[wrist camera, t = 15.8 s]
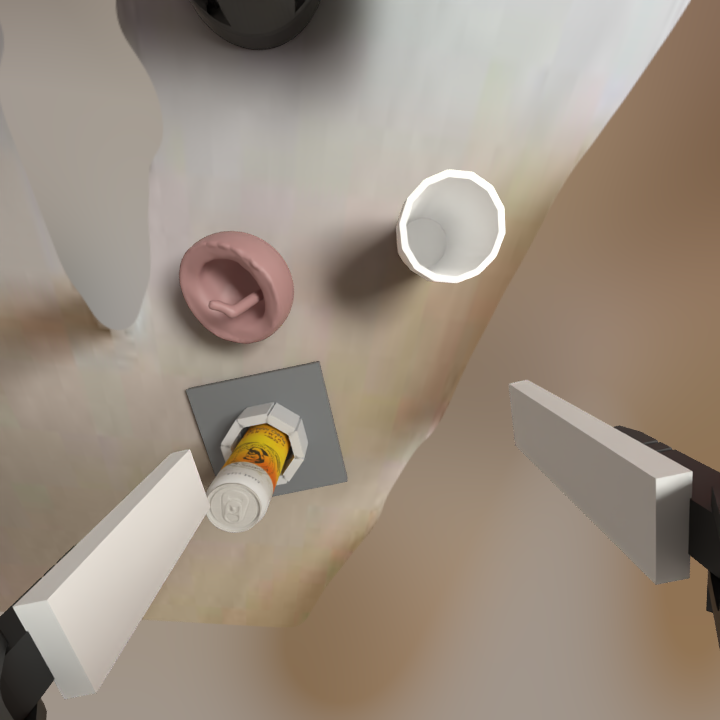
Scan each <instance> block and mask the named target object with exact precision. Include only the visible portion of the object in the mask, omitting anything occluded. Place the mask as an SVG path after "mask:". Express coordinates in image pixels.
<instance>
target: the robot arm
mask: <svg viewBox="0 0 720 720" xmlns="http://www.w3.org/2000/svg"><path fill="white" fill-rule="evenodd" d="M190 1H191V3H192V5H193V7H194V8H195V10H196V11H197V13H198V14H199V16H200V17H201V18H202V20H203V21H204V22H205V23H206V24H207V25H208V26H209V27H210V28H211V29H212V30H213V31H214V32H215V33H216V34H218V35H219V36H220V37H222V38H224V39H225V40H227V41H229V42H231V43H233V44H235V45H238V46H241V47H245V48H250V49H267V48H272V47H276V46H279V45H281V44H284V43H286V42H287V41H289V40H291V39H292V38H294V37H295V36H296V35H297V34H299V33H300V32H301V31H302V30H303V29H304V27H305V26H306V25H307V24H308V22H309V21H310V19H311V18H312V16H313V14H314V13H315V11H316V8H317V6H318V4H319V1H320V0H190ZM509 392H510V402H511V411H512V420H513V429H514V439H515V445H516V447H517V448H518V449H519V450H520V451H521V452H523V454H524V455H525V456H526V457H528V458H529V460H531V461H532V462H533V463H534V464H535V465H536V466H537V467H538V468H539V469H540V470H541V471H542V472H543V473H544V474H545V475H546V476H547V477H548V478H549V479H550V480H551V481H552V482H553V483H554V484H555V485H556V486H557V487H558V488H559V489H560V490H561V491H562V492H563V493H564V494H565V495H566V496H567V497H568V498H569V499H570V500H571V501H572V502H573V503H574V504H575V505H576V506H577V507H578V508H579V509H580V510H581V511H582V512H583V513H584V514H585V515H586V516H587V517H588V518H589V519H590V520H591V521H592V522H593V523H594V524H595V525H596V526H597V527H598V528H599V529H600V530H601V531H602V532H603V533H604V534H605V535H606V536H607V537H608V538H609V539H610V540H611V541H612V542H613V543H614V544H615V545H616V546H617V547H618V548H619V549H620V550H622V552H623V553H624V554H625V555H626V556H627V557H628V558H629V559H630V560H632V562H633V563H634V564H636V565H637V567H638V568H639V569H640V570H641V571H642V572H644V573H645V574H646V575H647V576H648V577H649V578H650V579H651V580H652V581H653V582H654V583H655V584H656V585H657V584H661V583H667V582H672V581H677V580H683V579H688V578H689V577H690V574H689V573H690V556H692V557H693V558H694V559H695V560H697V561H698V562H699V563H700V564H702V565H703V566H704V567H705V568H707V569H708V585H707V607H706V610H707V611H709V612H712V613H713V615H714V620H715V625H716V631H717V637H718V642H719V647H720V473H719V472H718V471H716V470H714V469H712V468H710V467H708V466H706V465H704V464H702V463H700V462H698V461H696V460H694V459H692V458H690V457H688V456H687V455H685V454H683V453H681V452H679V451H677V450H672V448H671V447H669V446H667V445H665V444H663V443H661V442H659V443H658V441H657V440H656V439H654V438H652V437H650V436H648V435H646V434H644V433H642V432H640V431H636V430H633V429H629V428H626V427H623V426H616V427H612V426H610V425H608V424H606V423H604V422H603V421H601V420H599V419H597V418H595V417H593V416H592V415H590V414H588V413H586V412H585V411H583V410H581V409H579V408H577V407H575V406H574V405H572V404H570V403H568V402H567V401H565V400H563V399H561V398H559V397H558V396H556V395H554V394H552V393H550V392H549V391H547V390H545V389H543V388H541V387H540V386H538V385H536V384H534V383H532V382H531V381H529V380H524V381H519V382H514V383H510V384H509ZM209 508H210V504H209V502H208V499H207V496H206V493H205V490H204V488H203V485H202V482H201V479H200V476H199V474H198V471H197V468H196V465H195V462H194V460H193V457H192V454H191V451H190V449H188V450H183V451H178V452H173V453H171V454H170V455H169V456H168V457H167V458H166V459H165V460H164V461H163V462H162V463H161V464H159V465H158V466H157V467H156V468H155V469H154V470H153V471H152V472H151V473H150V474H149V475H148V476H147V477H146V478H145V479H144V480H143V481H142V482H141V483H140V484H139V485H138V486H137V487H136V488H135V489H134V490H133V491H132V492H131V493H130V494H128V495H127V496H126V497H125V498H124V499H123V500H122V501H121V502H120V503H119V504H118V505H117V506H116V507H115V508H114V509H113V510H112V511H111V512H110V513H109V514H108V515H107V516H106V517H105V518H104V519H103V520H102V521H101V522H100V523H99V524H97V525H96V526H95V527H94V528H93V529H92V530H91V531H90V532H89V533H88V534H87V535H86V536H85V537H84V538H83V539H82V540H81V541H80V542H79V543H78V544H76V545H75V546H73V547H72V548H71V549H70V550H69V551H68V552H67V553H66V554H65V555H64V556H63V557H62V558H61V559H60V560H59V561H58V562H57V564H56V565H53V566H52V567H51V568H50V569H49V570H48V571H47V572H46V573H45V574H44V577H43V578H40V579H39V580H38V581H37V582H36V583H35V584H34V585H33V586H32V587H31V588H30V589H28V590H27V591H26V592H25V593H24V594H23V595H22V596H21V597H20V598H19V599H18V600H17V601H16V602H15V603H14V604H13V605H12V606H11V607H10V608H9V609H8V610H7V611H6V612H5V613H4V614H2V615H1V616H0V720H46V714H47V711H46V708H45V705H44V703H43V701H42V700H41V697H42V696H43V694H44V693H45V691H46V690H47V689H48V687H49V686H50V685H51V683H52V682H53V681H54V682H55V683H56V685H57V687H58V689H59V690H60V692H61V694H62V696H63V698H64V699H68V698H74V697H79V696H84V695H89V694H95V693H96V692H97V691H98V689H99V688H100V686H101V684H102V683H103V681H104V680H105V678H106V676H107V675H108V673H109V671H110V670H111V668H112V667H113V665H114V663H115V662H116V660H117V658H118V657H119V655H120V653H121V652H122V650H123V649H124V647H125V645H126V643H127V642H128V640H129V639H130V637H131V635H132V634H133V632H134V631H135V629H136V627H137V625H138V624H139V623H140V621H141V619H142V618H143V616H144V614H145V613H146V611H147V609H148V608H149V606H150V605H151V603H152V601H153V600H154V598H155V596H156V595H157V593H158V592H159V590H160V588H161V587H162V585H163V583H164V582H165V580H166V579H167V577H168V575H169V574H170V572H171V570H172V569H173V567H174V565H175V564H176V562H177V561H178V559H179V557H180V556H181V554H182V552H183V551H184V549H185V548H186V546H187V544H188V543H189V541H190V539H191V538H192V536H193V535H194V533H195V531H196V530H197V528H198V526H199V525H200V523H201V521H202V520H203V518H204V517H205V515H206V513H207V512H208V510H209Z"/></svg>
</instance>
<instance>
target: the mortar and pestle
mask: <svg viewBox="0 0 720 720" xmlns="http://www.w3.org/2000/svg"><path fill="white" fill-rule="evenodd" d="M179 281H180V286H181V290H182V293H183V296H184V299H185V301H186V302H187V305H188V307H189V308H190V310H191V311H192V313H193V314H194V315H195V317H196V318H197V319H198V320H199V322H200V323H201V324H202V325H203V326H204V327H205V328H206V329H207V330H209V331H210V332H212V333H213V334H214V335H216V336H218V337H220V338H222V339H224V340H228V341H232V342H237V343H246V344H248V343H253V342H258V341H261V340H263V339H266V338H267V337H269V336H271V335H272V334H273V333H274V332H275V331H277V330H278V329H279V328H280V326H281V325H282V324H283V323H284V321H285V320H286V319H287V317H288V315H289V313H290V310H291V307H292V303H293V297H294V286H293V280H292V276H291V273H290V270H289V268H288V266H287V264H286V262H285V261H284V259H283V258H282V256H281V255H280V254H279V253H278V252H277V251H276V250H275V249H274V248H273V247H272V246H271V245H270V244H268V243H267V242H265V241H264V240H262V239H260V238H258V237H256V236H254V235H251V234H248V233H243V232H236V231H225V232H219V233H214V234H211V235H209V236H206V237H204V238H202V239H201V240H199V241H198V242H196V243H195V244H194V245H193V246H192V247H190V248H189V249H188V251H187V252H186V253H185V255H184V256H183V258H182V261H181V264H180V270H179Z"/></svg>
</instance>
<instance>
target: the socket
mask: <svg viewBox="0 0 720 720" xmlns="http://www.w3.org/2000/svg"><path fill="white" fill-rule="evenodd" d="M186 392H187V395H188V398H189V401H190V404H191V407H192V410H193V413H194V415H195V418H196V421H197V424H198V427H199V430H200V433H201V436H202V439H203V442H204V444H205V447H206V450H207V453H208V456H209V459H210V462H211V465H212V468H213V471H214V473H215V476H217V474H218V473H219V471H220V470H221V468H222V467H223V466H224V464H225V463H226V461H227V460H228V458H229V457H230V455H231V454H232V452H233V451H234V450H235V448H236V447H237V445H238V444H239V442H240V441H241V439H242V438H243V436H244V435H245V434H246V432H247V431H248V429H249V428H250V426H254V425H258V424H263V423H268V424H270V425H272V426H273V427H275V428H277V429H279V430H280V431H282V432H284V433H286V434H287V435H289V439H290V442H291V445H290V448H289V451H288V454H287V457H286V459H285V462H284V465H283V468H282V470H281V473H280V476H279V479H278V481H277V484H276V487H275V490H274V492H273V495H272V497H273V496H278V495H283V494H288V493H293V492H298V491H303V490H308V489H313V488H318V487H323V486H328V485H333V484H338V483H342V482H347V474H346V470H345V466H344V461H343V457H342V453H341V449H340V445H339V441H338V437H337V432H336V428H335V424H334V420H333V416H332V412H331V408H330V404H329V399H328V395H327V391H326V387H325V383H324V379H323V375H322V370H321V366H320V362H319V361H316V362H312V363H307V364H302V365H297V366H292V367H288V368H283V369H278V370H273V371H268V372H264V373H259V374H254V375H249V376H244V377H240V378H235V379H230V380H225V381H220V382H216V383H211V384H206V385H201V386H196V387H192V388H189V389H187V390H186Z"/></svg>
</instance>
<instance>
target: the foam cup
mask: <svg viewBox="0 0 720 720" xmlns="http://www.w3.org/2000/svg"><path fill="white" fill-rule="evenodd" d="M396 235H397V249H398V254H399V256H400V257H401V259H402V261H403V262H404V264H406V265H407V266H408V267H409V269H410V270H411V271H413V272H414V273H416V274H417V275H419V276H421V277H422V278H424V279H426V280H427V281H432V282H444V283H458V282H461V281H464V280H466V279H469V278H471V277H474V276H476V275H479V274H480V273H481V272H482V271H483V270H484V269H485V268H486V267H487V266H488V265H489V264H490V263H491V262H492V261H493V260H494V259H495V258H496V256H497V254H498V251H499V248H500V246H501V243H502V241H503V238H504V235H505V212H504V206H503V204H502V202H501V200H500V198H499V197H498V195H497V193H496V191H495V189H494V187H493V185H491V184H490V183H488V182H487V181H485V180H484V179H482V178H481V177H480V176H478V175H477V174H475V173H474V172H470V171H460V170H450V169H448V170H445V171H443V172H440V173H438V174H436V175H433V176H431V177H428V178H426V179H424V180H423V181H422V183H421V184H420V185H419V186H418V187H417V188H416V189H415V190H414V192H413V193H412V194H411V195H410V196H409V197H408V198H407V200H406V201H405V202H404V204H403V206H402V209H401V212H400V216H399V219H398V222H397V225H396Z"/></svg>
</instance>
